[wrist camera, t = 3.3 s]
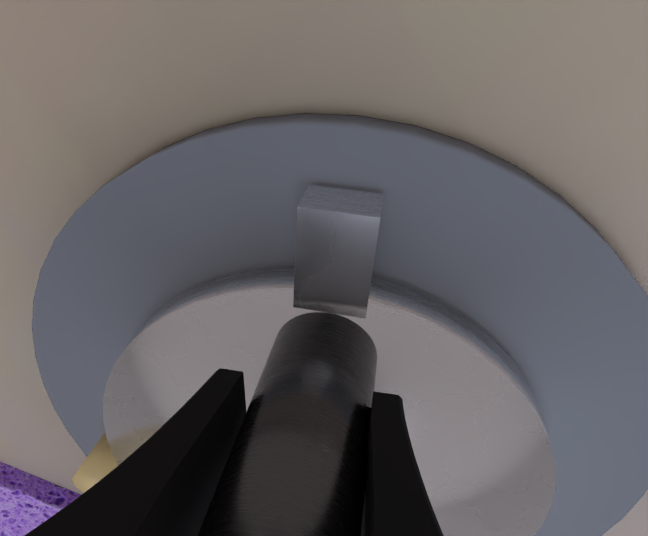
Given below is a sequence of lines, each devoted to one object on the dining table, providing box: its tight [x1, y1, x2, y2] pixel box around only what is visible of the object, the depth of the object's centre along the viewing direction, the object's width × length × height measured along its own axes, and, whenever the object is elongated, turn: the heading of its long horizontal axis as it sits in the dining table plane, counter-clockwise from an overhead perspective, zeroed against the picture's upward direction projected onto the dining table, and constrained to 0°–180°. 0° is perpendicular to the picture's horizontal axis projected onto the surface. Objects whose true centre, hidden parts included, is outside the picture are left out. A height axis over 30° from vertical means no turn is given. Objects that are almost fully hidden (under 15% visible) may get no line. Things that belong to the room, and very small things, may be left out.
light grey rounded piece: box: [103, 185, 556, 536], centre depth 14 cm, size 18×16×8 cm
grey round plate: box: [32, 113, 648, 536], centre depth 17 cm, size 24×24×4 cm
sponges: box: [0, 462, 81, 536], centre depth 27 cm, size 7×13×2 cm, turn 66°
